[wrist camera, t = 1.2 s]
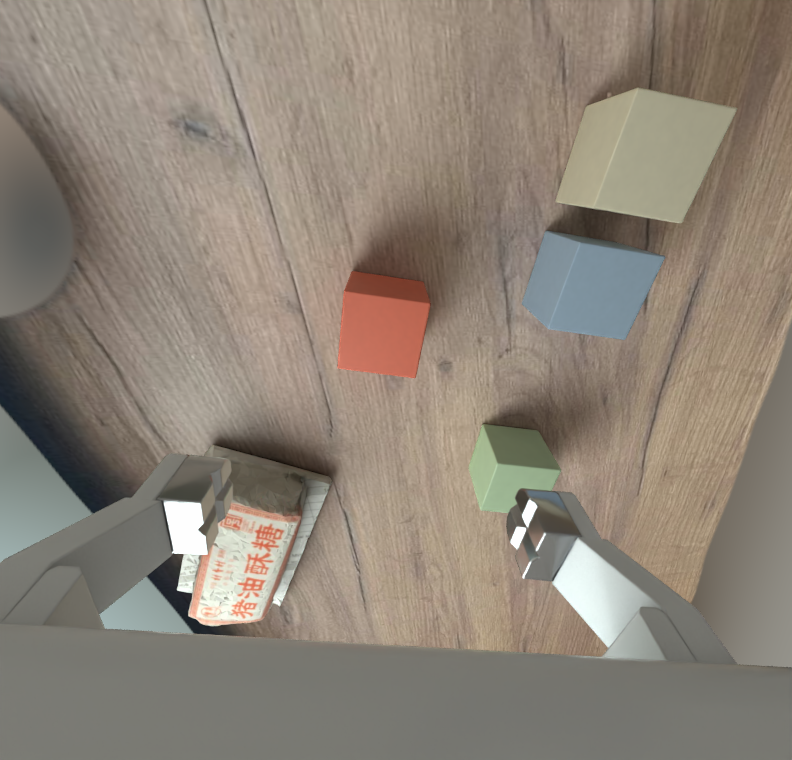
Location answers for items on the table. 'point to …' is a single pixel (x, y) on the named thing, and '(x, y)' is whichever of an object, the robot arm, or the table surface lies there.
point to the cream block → (643, 154)
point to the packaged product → (253, 540)
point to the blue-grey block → (589, 284)
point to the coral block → (383, 324)
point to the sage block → (510, 466)
